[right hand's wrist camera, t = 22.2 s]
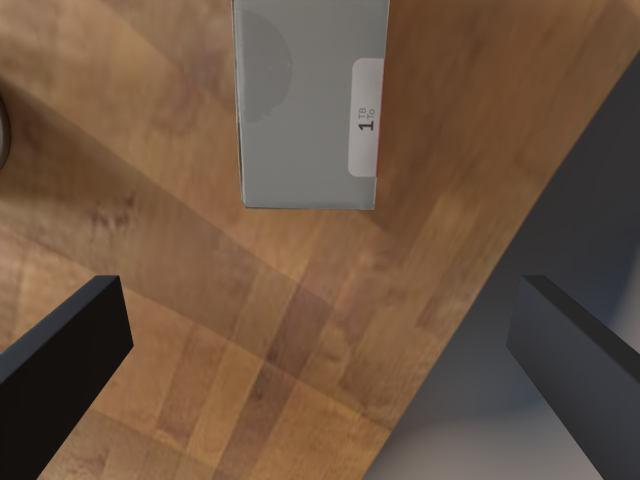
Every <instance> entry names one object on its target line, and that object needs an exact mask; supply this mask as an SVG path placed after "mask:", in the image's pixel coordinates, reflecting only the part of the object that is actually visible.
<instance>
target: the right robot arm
mask: <svg viewBox="0 0 640 480" xmlns="http://www.w3.org/2000/svg"><path fill="white" fill-rule="evenodd" d="M9 146H10V127H9V121H8V117H7V113H6V110H5V107H4V104H3V102H2V99H1V97H0V169H1V168H2V166H3V164H4V162H5V160H6V158H7V155H8V151H9ZM133 346H134V344H133V339H132V335H131V330H130V325H129V320H128V315H127V311H126V306H125V301H124V296H123V291H122V286H121V282H120V277H119V275H97V276H95V277H93V278H92V279H91V280H90V281H89V282H87V283H86V284H85V285H84V286H82V287H81V288H80V289H79V290H78V291H76V292H75V293H74V294H73V295H72V296H70V297H69V298H68V299H67V300H65V301H64V302H63V303H62V304H61V305H59V306H58V307H57V308H56V309H55V310H53V311H52V312H51V313H50V314H48V315H47V316H46V317H45V318H44V319H42V320H41V321H40V322H39V323H38V324H36V325H35V326H34V327H33V328H32V329H30V330H29V331H28V332H27V333H25V334H24V335H23V336H22V337H21V338H19V339H18V340H17V341H16V342H15V343H13V344H12V345H11V346H10V347H8V348H7V349H6V350H5V351H4V352H2V353H1V354H0V480H36V479H37V478H38V477H39V475H40V474H41V472H42V471H43V470H44V468H45V467H46V466H47V464H48V463H49V462H50V460H51V459H52V457H53V456H54V455H55V453H56V452H57V451H58V449H59V448H60V446H61V445H62V444H63V442H64V441H65V440H66V438H67V437H68V435H69V434H70V433H71V431H72V430H73V429H74V427H75V426H76V424H77V423H78V422H79V420H80V419H81V418H82V416H83V415H84V414H85V412H86V411H87V409H88V408H89V407H90V405H91V404H92V403H93V401H94V400H95V398H96V397H97V396H98V394H99V393H100V392H101V390H102V389H103V387H104V386H105V385H106V383H107V382H108V381H109V379H110V378H111V377H112V375H113V374H114V372H115V371H116V370H117V368H118V367H119V366H120V364H121V363H122V361H123V360H124V359H125V357H126V356H127V355H128V353H129V352H130V350H131V349H132V348H133ZM506 346H507V348H508V349H509V350H510V352H511V353H512V355H513V356H514V357H515V359H516V360H517V361H518V363H519V364H520V366H521V367H522V368H523V370H524V371H525V372H526V374H527V375H528V377H529V378H530V379H531V381H532V382H533V383H534V385H535V386H536V387H537V389H538V390H539V392H540V393H541V394H542V396H543V397H544V398H545V400H546V401H547V403H548V404H549V405H550V407H551V408H552V409H553V411H554V412H555V414H556V415H557V416H558V418H559V419H560V420H561V422H562V423H563V424H564V426H565V427H566V428H567V430H568V431H569V433H570V434H571V435H572V437H573V438H574V440H575V441H576V442H577V444H578V445H579V446H580V448H581V449H582V451H583V452H584V453H585V455H586V456H587V457H588V459H589V460H590V461H591V463H592V464H593V466H594V467H595V468H596V470H597V471H598V472H599V474H600V475H601V477H602V478H603V479H604V480H640V354H639V353H638V352H636V351H635V350H634V349H633V348H632V347H630V346H629V345H628V344H627V343H625V342H624V341H623V340H622V339H621V338H619V337H618V336H617V335H616V334H615V333H613V332H612V331H611V330H610V329H608V328H607V327H606V326H605V325H604V324H602V323H601V322H600V321H599V320H598V319H596V318H595V317H594V316H593V315H591V314H590V313H589V312H588V311H587V310H585V309H584V308H583V307H582V306H581V305H579V304H578V303H577V302H576V301H575V300H573V299H572V298H571V297H570V296H568V295H567V294H566V293H565V292H564V291H562V290H561V289H560V288H559V287H558V286H556V285H555V284H554V283H553V282H551V281H550V280H549V279H548V278H547V277H545V276H544V275H542V276H541V275H540V276H539V275H536V276H535V275H534V276H531V275H529V276H526V275H523V276H521V277H520V282H519V286H518V291H517V296H516V301H515V306H514V311H513V316H512V320H511V325H510V330H509V335H508V339H507V344H506Z"/></svg>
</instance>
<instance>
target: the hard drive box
mask: <svg viewBox="0 0 640 480" xmlns="http://www.w3.org/2000/svg"><path fill="white" fill-rule="evenodd" d="M389 5H390V0H231V7H232V27H233V47H234V70H235V93H236V116H237V139H238V160H239V176H240V189H241V200H242V202H243V204H244V205H245V208H248V209H346V210H374V209H375V196H376V182H377V172H378V159H379V145H380V132H381V118H382V102H383V85H384V70H385V51H386V38H387V26H388V16H389Z"/></svg>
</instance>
